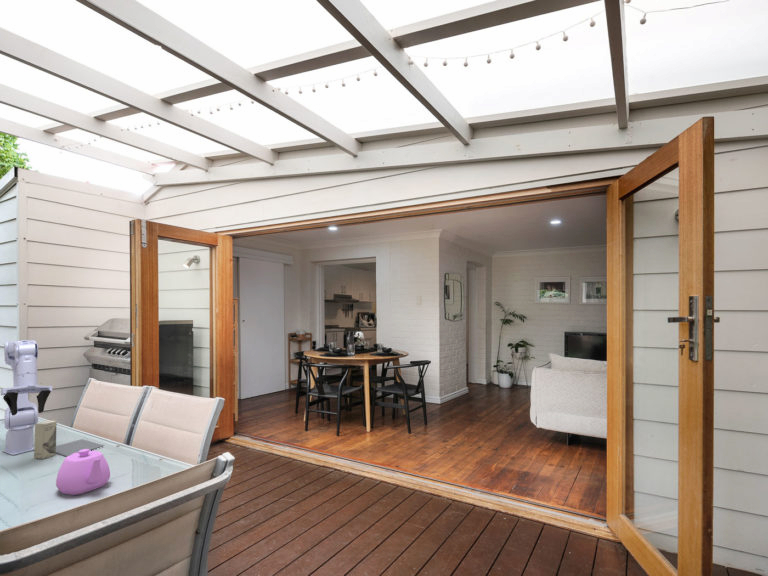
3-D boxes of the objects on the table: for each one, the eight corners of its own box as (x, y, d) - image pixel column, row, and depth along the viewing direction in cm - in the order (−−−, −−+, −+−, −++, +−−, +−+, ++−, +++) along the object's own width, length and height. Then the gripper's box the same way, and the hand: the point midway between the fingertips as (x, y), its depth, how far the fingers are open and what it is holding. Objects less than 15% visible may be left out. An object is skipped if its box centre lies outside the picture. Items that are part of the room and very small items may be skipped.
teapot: (46, 489, 131) (46, 451, 132) (94, 474, 142) (95, 439, 143) (73, 506, 120) (74, 464, 120) (124, 488, 131) (124, 450, 132)
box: (43, 459, 156) (43, 424, 156) (33, 458, 157) (34, 423, 157) (56, 454, 161) (57, 420, 162) (47, 453, 162) (47, 419, 163)
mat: (45, 450, 166) (45, 448, 166) (82, 440, 178) (82, 439, 178) (67, 457, 158) (67, 456, 158) (104, 446, 169) (104, 445, 169)
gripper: (6, 372, 145) (7, 412, 141) (55, 371, 158) (57, 407, 153) (-3, 379, 148) (-3, 418, 144) (46, 377, 161) (48, 413, 156)
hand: (28, 413), depth 149 cm, fingers open, 7 cm apart
